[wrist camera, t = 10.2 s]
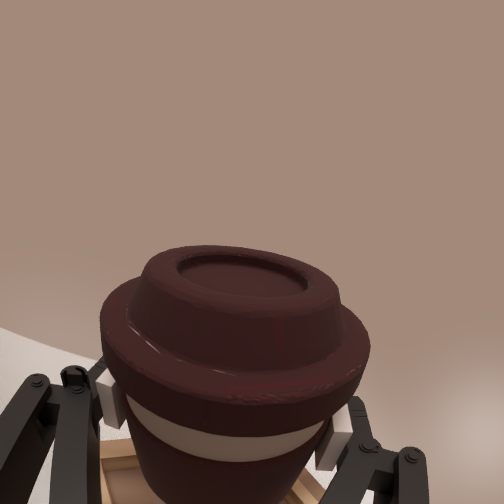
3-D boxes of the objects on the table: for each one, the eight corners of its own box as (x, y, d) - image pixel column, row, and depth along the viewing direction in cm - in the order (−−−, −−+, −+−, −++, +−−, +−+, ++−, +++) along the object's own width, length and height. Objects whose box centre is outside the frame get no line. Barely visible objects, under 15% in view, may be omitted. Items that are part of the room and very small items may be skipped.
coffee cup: (245, 429, 21) (280, 237, 18) (323, 521, 13) (436, 307, 9) (118, 453, 16) (94, 233, 13) (167, 578, 8) (115, 374, 4)
